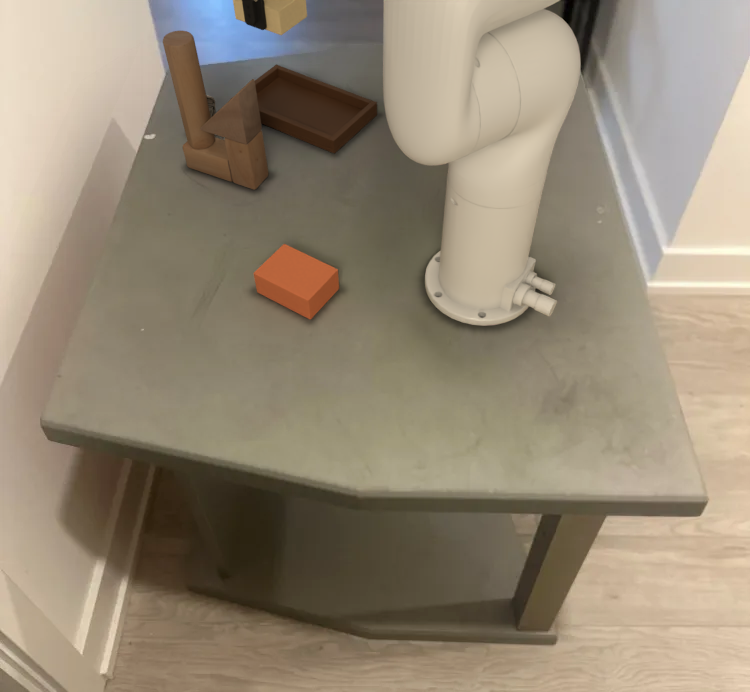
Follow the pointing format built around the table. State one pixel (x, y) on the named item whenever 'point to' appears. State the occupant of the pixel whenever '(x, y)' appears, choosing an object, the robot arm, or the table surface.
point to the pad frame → (311, 108)
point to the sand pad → (278, 14)
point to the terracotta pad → (297, 281)
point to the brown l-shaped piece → (216, 120)
